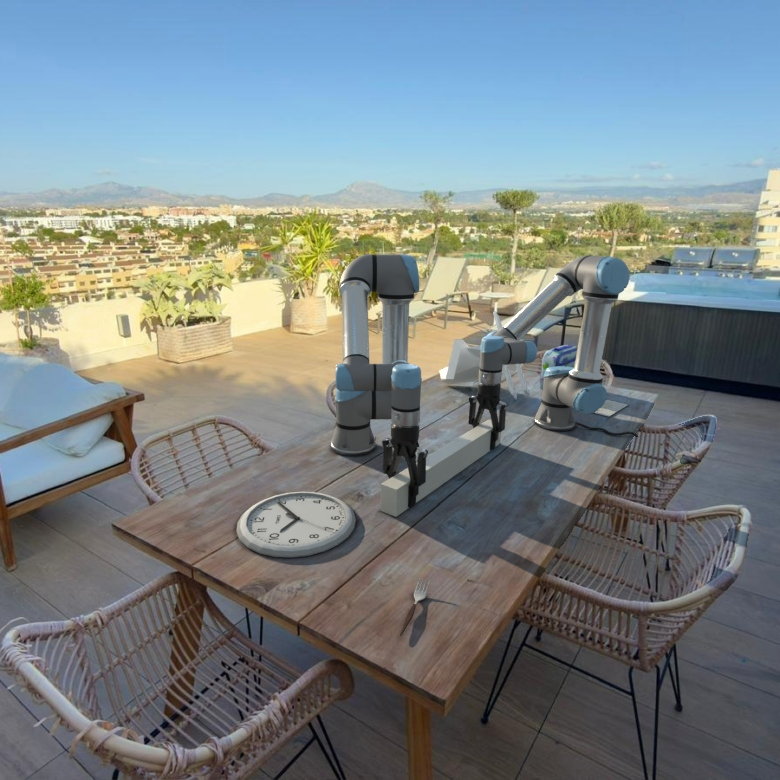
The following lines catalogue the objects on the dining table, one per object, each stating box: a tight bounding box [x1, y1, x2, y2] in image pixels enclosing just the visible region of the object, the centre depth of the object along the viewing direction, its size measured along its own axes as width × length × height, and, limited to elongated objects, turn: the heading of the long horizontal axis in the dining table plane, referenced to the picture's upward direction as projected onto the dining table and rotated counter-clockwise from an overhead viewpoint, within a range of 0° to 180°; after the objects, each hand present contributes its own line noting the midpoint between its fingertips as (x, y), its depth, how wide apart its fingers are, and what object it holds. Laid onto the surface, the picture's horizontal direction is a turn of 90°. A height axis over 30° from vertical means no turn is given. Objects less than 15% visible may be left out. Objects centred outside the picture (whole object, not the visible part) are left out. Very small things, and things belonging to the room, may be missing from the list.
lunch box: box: [539, 344, 578, 391], centre depth 246 cm, size 26×11×21 cm, turn 135°
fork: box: [399, 577, 431, 637], centre depth 104 cm, size 3×16×2 cm, turn 160°
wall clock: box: [236, 491, 357, 558], centre depth 134 cm, size 30×2×30 cm
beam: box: [380, 418, 502, 518], centre depth 162 cm, size 63×5×8 cm, turn 143°
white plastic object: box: [438, 310, 531, 400], centre depth 245 cm, size 37×45×31 cm
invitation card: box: [593, 399, 629, 418], centre depth 226 cm, size 21×1×15 cm
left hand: (403, 501), depth 144 cm, fingers closed on beam, 5 cm apart
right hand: (484, 446), depth 182 cm, fingers closed on beam, 5 cm apart
